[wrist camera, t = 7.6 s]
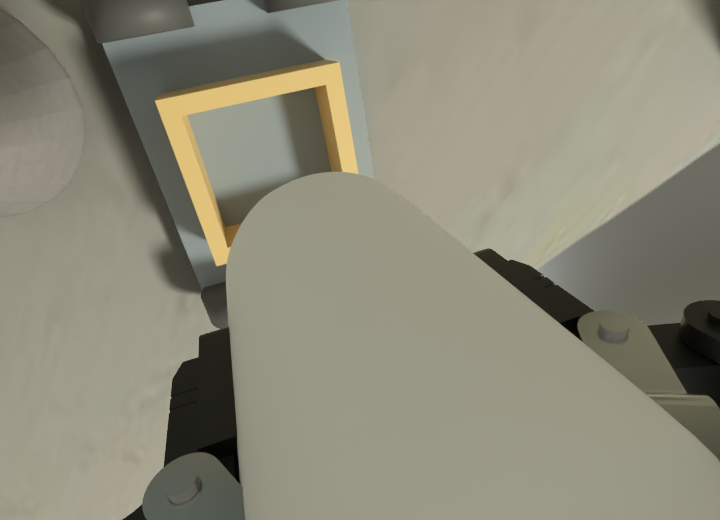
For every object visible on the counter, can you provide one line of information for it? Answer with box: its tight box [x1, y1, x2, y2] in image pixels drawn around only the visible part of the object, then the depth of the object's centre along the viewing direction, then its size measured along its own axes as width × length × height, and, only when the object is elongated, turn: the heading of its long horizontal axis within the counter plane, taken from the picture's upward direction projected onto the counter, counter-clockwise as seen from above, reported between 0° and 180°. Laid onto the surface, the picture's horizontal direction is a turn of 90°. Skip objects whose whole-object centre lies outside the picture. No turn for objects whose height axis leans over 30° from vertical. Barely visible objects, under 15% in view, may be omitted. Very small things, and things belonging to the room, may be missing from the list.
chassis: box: [79, 0, 375, 329], centre depth 28 cm, size 14×20×5 cm
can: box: [226, 172, 720, 520], centre depth 9 cm, size 6×6×12 cm
